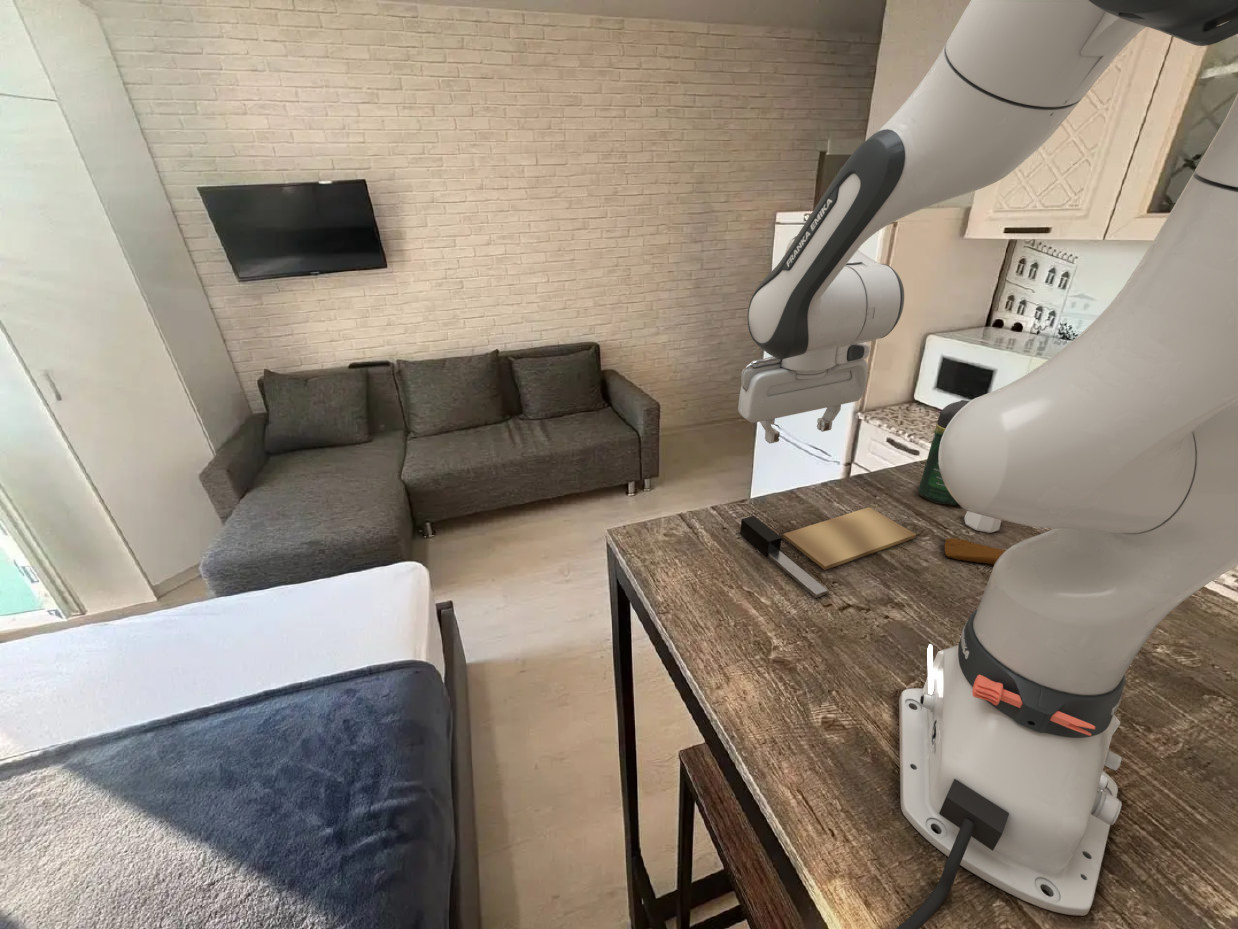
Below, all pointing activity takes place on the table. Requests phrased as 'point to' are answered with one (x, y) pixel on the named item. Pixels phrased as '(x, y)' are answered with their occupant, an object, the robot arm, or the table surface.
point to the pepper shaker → (982, 522)
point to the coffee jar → (931, 477)
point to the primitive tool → (971, 551)
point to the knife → (778, 553)
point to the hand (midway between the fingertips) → (798, 435)
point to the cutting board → (848, 537)
